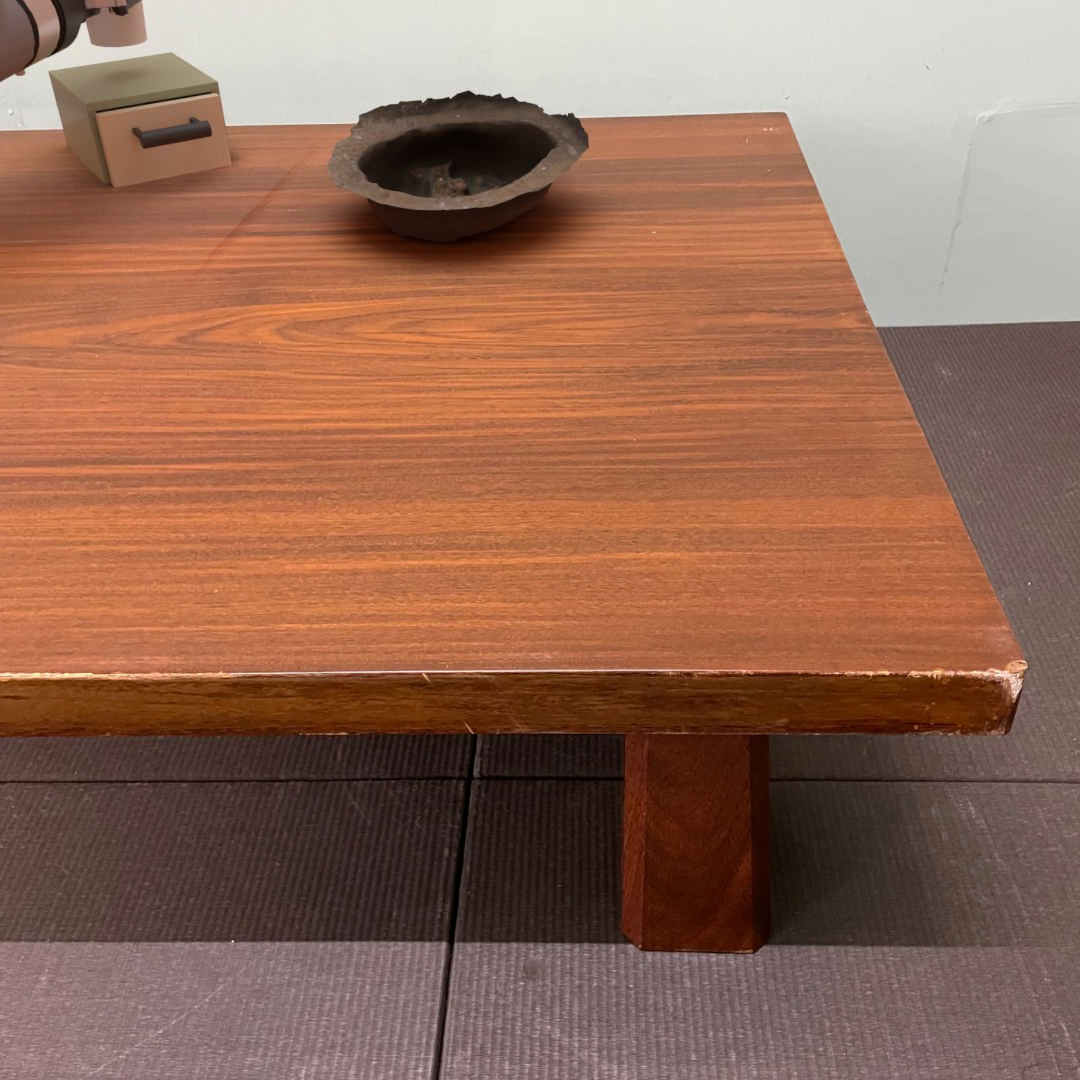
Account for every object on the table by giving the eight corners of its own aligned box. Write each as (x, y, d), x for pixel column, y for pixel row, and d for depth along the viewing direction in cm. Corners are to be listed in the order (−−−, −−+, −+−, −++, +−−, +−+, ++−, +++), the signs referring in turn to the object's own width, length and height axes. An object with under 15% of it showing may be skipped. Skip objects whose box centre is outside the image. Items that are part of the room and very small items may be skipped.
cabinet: (234, 174, 128) (217, 81, 122) (108, 199, 122) (85, 103, 117) (188, 138, 139) (171, 52, 133) (71, 160, 133) (48, 71, 128)
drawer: (247, 182, 123) (234, 105, 118) (129, 207, 118) (110, 127, 113) (189, 137, 136) (176, 66, 132) (80, 157, 131) (62, 84, 126)
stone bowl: (532, 160, 128) (533, 74, 123) (621, 258, 110) (628, 162, 105) (310, 188, 122) (299, 98, 116) (366, 296, 104) (357, 196, 98)
